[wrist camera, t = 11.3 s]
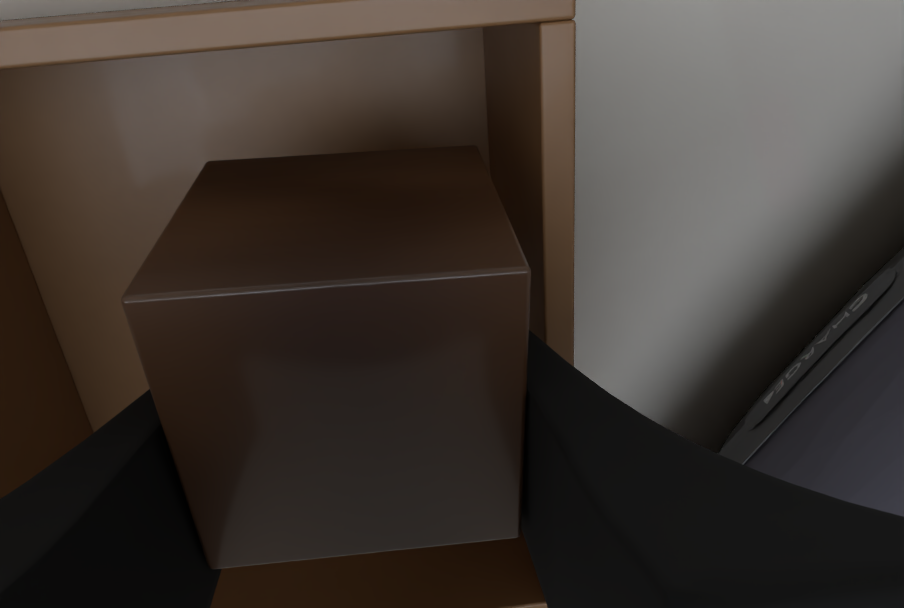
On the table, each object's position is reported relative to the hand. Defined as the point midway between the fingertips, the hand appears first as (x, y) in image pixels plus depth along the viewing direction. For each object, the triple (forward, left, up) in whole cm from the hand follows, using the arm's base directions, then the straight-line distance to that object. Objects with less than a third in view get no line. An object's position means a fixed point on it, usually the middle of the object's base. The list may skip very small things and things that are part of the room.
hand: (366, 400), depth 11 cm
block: (0, +2, -2) cm, 2 cm away
